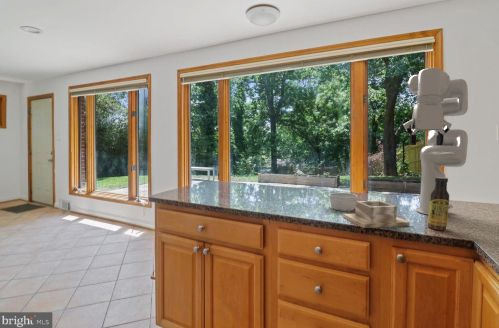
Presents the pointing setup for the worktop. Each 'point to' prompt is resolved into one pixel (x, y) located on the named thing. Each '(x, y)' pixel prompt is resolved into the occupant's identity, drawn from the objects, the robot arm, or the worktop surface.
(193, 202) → the worktop surface
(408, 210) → the worktop surface
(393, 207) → the bottle caddy
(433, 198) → the sauce bottle
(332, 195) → the ramekin
